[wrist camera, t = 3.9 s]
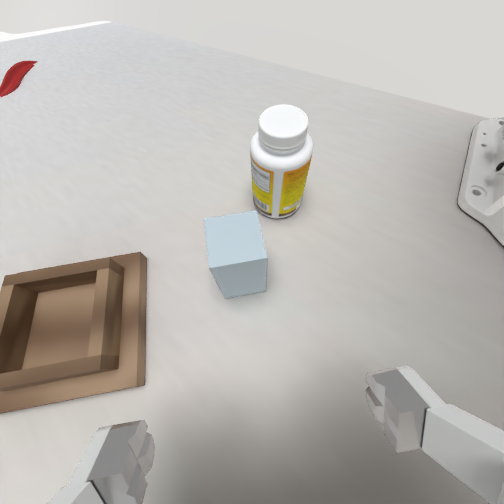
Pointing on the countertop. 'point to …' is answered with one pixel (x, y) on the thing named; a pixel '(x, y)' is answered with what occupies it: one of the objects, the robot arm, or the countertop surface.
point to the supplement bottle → (280, 160)
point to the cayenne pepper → (15, 77)
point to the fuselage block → (237, 253)
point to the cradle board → (72, 331)
